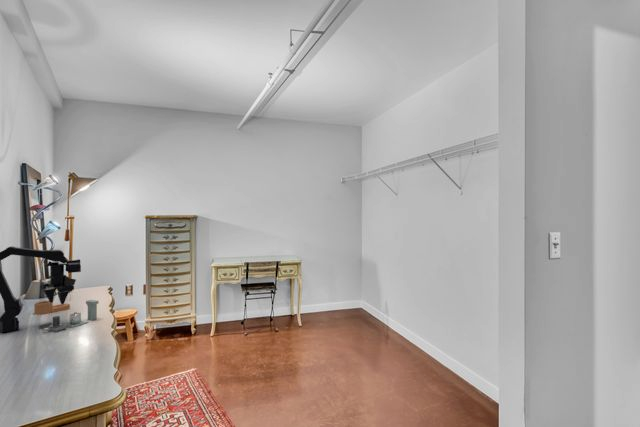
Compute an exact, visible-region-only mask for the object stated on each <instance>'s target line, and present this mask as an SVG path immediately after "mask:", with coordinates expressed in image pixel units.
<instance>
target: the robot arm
mask: <svg viewBox="0 0 640 427" xmlns="http://www.w3.org/2000/svg"><path fill="white" fill-rule="evenodd" d="M11 256H20V257H30V258H31V257H32V258H41V259H44V260H47V261H48V263H46V264H45V267H49V271H50V273H49V276H47V277H48V279H49V282H45V283H42V284H40V286H39V289H40V290H41V291H42V293H43V294H44V295H45V297H46V298H47V301H50V303H52V302H54V297H55V292H56V291H57V292H56V294H57V296H58V301H59V302H60V304H65V302H66V300H67V297H68V294H69V293H71V292H73V291H74V290H75V283H76V281H77V278H69V277H70V276H67V275H66V274H65V272H67V273H68V274H72V273H73V274H74V273H80V272H82V267H81V266H82V265H81V259H73V260H72V259H71V260H69V259H68V258H67V257H65V253H64V251H62V250H61V249H47V250H46V249H33V248H27V247H17V246H13V245H12V246H8V247H6V248H5V249H4V250H2V251H0V297H1V299H2V300H3V309H4V312H3V313H2V314H1V315H0V334H3V335H4V334H5V335H6V334H10V333H13V332H18V331H21V329H20V321H19V318H18V317H17V316H19V315H20V314H21V312H22V310H23V307H24V303H23V302H22V299H21V298H20V297H19V298H16V297H15V296H14V293H13V292H12V290H11V287H10V285H9V282H8V280H7V279H6V276H5V274H4V272H3V265H2V260H4V259H6V258H8V257H11Z"/></svg>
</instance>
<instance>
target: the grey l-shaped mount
mask: <svg viewBox="0 0 640 427" xmlns="http://www.w3.org/2000/svg"><path fill="white" fill-rule="evenodd" d="M85 304H86V306H87V321H84V320H81V323H79V324H75V325H70V322H68V323H65V324H63V325H66V328H67V327H68V328H72V329H73V328H76V327H79V326H82V325H83V326H84V325H87V324H88V323H89V322H88V321H90V322H91V321H95V320H97V319H98V318H97V317H98V314H97V308H98V304H99V300H96V299H95V300H94V299H90V300H85Z"/></svg>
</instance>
